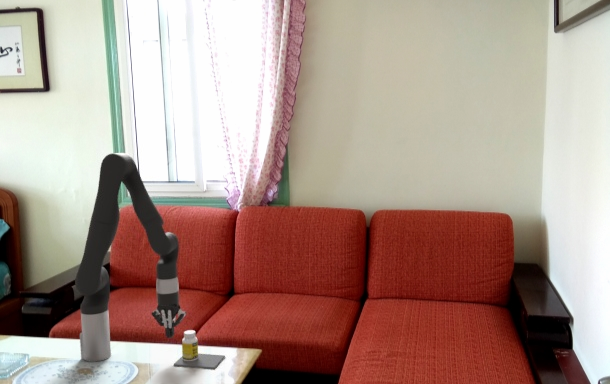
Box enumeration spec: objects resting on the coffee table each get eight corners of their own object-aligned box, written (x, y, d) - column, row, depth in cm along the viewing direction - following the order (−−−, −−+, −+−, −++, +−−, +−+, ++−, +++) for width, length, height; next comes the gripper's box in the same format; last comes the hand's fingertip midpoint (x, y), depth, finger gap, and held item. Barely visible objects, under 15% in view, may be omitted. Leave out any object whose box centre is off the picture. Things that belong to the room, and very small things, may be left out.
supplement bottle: (194, 362, 187) (193, 335, 186) (180, 361, 188) (178, 334, 187) (200, 356, 193) (199, 329, 192) (186, 355, 194) (185, 328, 193)
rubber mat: (173, 365, 186) (173, 364, 186) (186, 354, 196) (186, 352, 196) (214, 369, 183) (214, 367, 183) (225, 357, 193) (224, 355, 193)
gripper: (189, 287, 192) (191, 334, 193) (155, 286, 194) (158, 332, 196) (180, 293, 184) (182, 342, 186) (145, 292, 187) (147, 340, 189)
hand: (170, 337), depth 191 cm, fingers closed
